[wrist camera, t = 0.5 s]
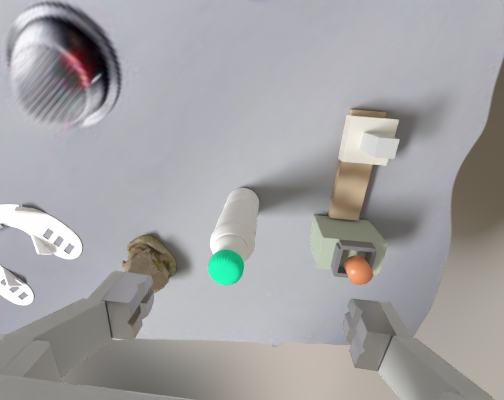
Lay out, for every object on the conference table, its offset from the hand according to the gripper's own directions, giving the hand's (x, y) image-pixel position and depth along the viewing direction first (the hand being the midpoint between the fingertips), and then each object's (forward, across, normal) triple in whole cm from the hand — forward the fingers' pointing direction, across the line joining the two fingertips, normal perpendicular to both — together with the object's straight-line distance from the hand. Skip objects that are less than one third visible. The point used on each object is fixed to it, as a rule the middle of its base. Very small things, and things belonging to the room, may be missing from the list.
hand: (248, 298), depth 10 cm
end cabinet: (+43, -18, +19) cm, 51 cm away
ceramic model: (+44, +26, +32) cm, 60 cm away
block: (+43, -18, +4) cm, 47 cm away
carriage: (+41, -18, -2) cm, 45 cm away
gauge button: (+31, -18, +19) cm, 40 cm away
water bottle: (+44, +4, +14) cm, 46 cm away
